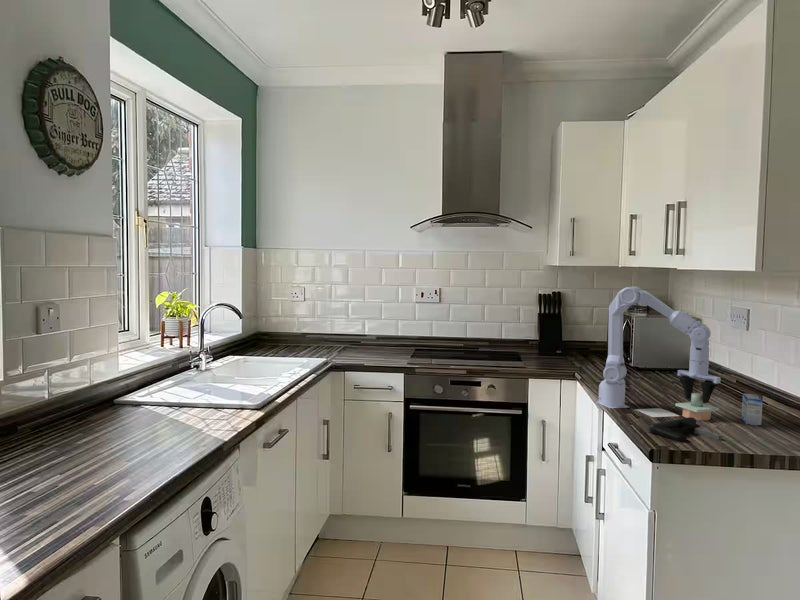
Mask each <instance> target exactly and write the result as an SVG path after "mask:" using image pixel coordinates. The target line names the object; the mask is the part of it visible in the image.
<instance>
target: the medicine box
mask: <svg viewBox="0 0 800 600" xmlns="http://www.w3.org/2000/svg"><path fill="white" fill-rule="evenodd" d="M741 403H742V404H741V420H742V421H743V422H744V423H745V425H748V424H750V425H749V426H757V425H761V426H762V416H763V399H762V398H761V397H760V396H758V394H754V393H752V394H751V393H743V394H742V401H741Z"/></svg>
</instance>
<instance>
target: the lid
mask: <svg viewBox="0 0 800 600" xmlns="http://www.w3.org/2000/svg"><path fill="white" fill-rule="evenodd" d="M702 397H703V393H701V392H700V393H699V392H693V393H691V399H690V401H688V402H676V403H675V407H679V408H681V409H683V408H685V409H688V410H691V411H694V412H707V411H711V412H717V411H720V407H718V406H714V405H709V404H708V403H703V400H702Z"/></svg>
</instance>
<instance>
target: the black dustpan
mask: <svg viewBox="0 0 800 600" xmlns="http://www.w3.org/2000/svg"><path fill="white" fill-rule="evenodd" d="M648 431H649V432H650V433H651V434H653V433H656V434H657V435H660V436H662V437H664V436H665V437H664V438H667V439H670V440H672V439H673V441H675V440H676V441H675V442H678V441H679V442H680V443H683V442H686V441H687V439H688V438H687V435H693V433H694V434H695V435H698V436H701V437H704V436H705V437H704V438H708V439H711V438H712V440H716V441H723V435H721V434H720V433H716V432H712V431H710V430H707V429H703V428H701V427H700V424H697V420H696V419H695V418H691V417H688V418H686V417H684V418H678V419H672V420H668V421H661V422H655V423H652V424H650V425H649V427H648ZM656 434H655V435H656Z"/></svg>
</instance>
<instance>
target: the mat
mask: <svg viewBox="0 0 800 600" xmlns="http://www.w3.org/2000/svg"><path fill="white" fill-rule="evenodd" d="M634 410H635V411H636V412H640V413H642V414H644V415H647V416H649V417H651V418H664V417H665V418H667V417H680V415H679V414H677V413H674V412H672V411H669V410H666V409H663V408H656V407H655V408H637V409H636V408H635V409H634Z"/></svg>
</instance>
